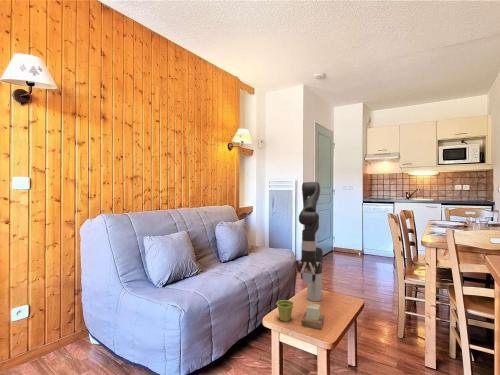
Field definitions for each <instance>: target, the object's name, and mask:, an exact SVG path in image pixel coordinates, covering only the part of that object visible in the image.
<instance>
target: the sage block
mask: <svg viewBox="0 0 500 375" xmlns="http://www.w3.org/2000/svg"><path fill="white" fill-rule="evenodd" d="M305 308H306V309H305V310H306V319H310V320H315V321H318V319H319V317H320V315H321V305H320V304H316V303H311V302H308V304H307V305H306V307H305Z"/></svg>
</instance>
